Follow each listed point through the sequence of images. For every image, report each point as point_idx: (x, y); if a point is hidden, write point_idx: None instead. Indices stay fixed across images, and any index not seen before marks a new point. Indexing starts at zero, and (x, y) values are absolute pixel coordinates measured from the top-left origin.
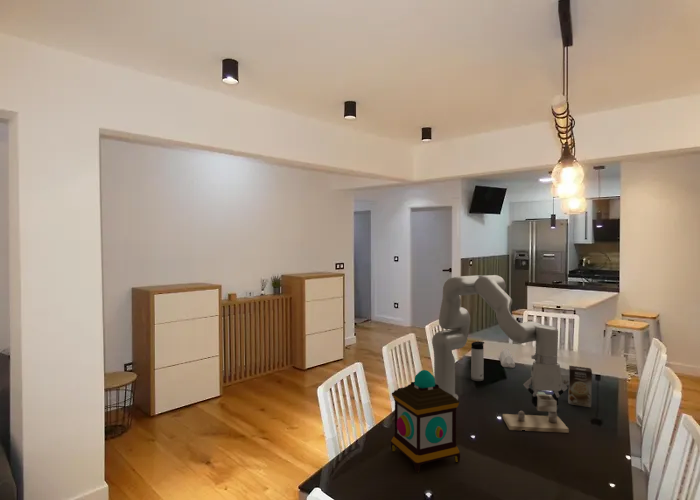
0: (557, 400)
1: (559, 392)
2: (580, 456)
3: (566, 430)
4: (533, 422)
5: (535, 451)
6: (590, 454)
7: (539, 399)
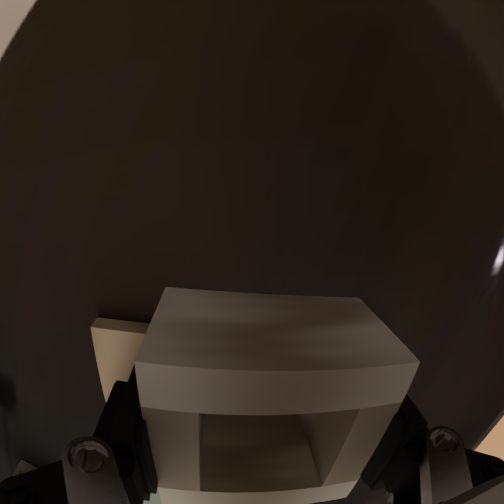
0: (110, 415)
1: (53, 499)
2: (145, 54)
3: (103, 324)
4: None
5: (353, 105)
6: (87, 82)
7: (389, 393)
